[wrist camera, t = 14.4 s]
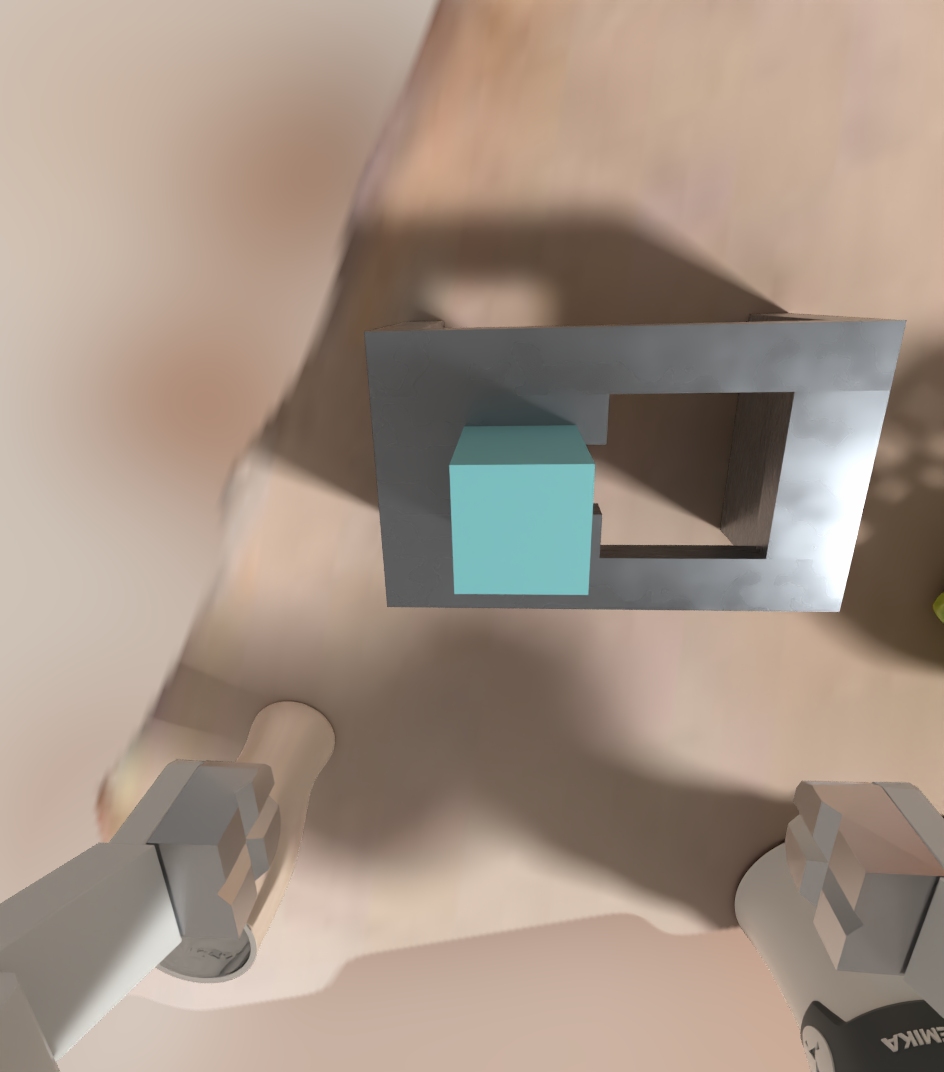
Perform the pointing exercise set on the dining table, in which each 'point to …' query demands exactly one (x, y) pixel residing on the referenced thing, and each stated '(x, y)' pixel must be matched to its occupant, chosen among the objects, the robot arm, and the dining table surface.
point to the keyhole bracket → (583, 399)
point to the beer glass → (296, 760)
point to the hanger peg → (521, 510)
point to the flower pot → (939, 607)
